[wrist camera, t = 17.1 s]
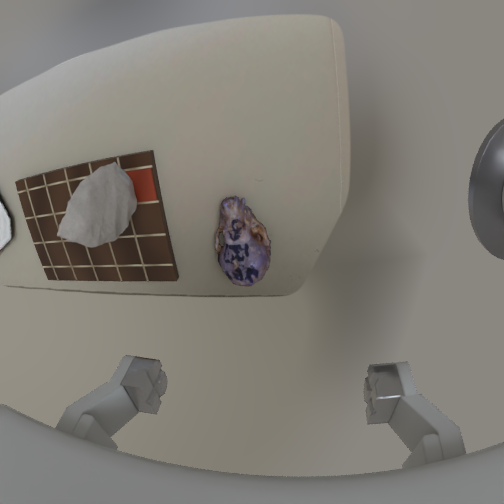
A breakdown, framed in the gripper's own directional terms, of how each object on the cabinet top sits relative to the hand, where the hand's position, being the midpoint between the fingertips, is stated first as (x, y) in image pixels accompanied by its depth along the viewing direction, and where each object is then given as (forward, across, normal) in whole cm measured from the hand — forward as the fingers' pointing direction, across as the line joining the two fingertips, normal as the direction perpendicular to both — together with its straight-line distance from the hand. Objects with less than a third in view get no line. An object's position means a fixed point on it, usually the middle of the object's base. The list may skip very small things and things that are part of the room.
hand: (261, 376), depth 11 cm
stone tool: (+30, +21, 0) cm, 37 cm away
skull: (+32, +6, +9) cm, 34 cm away
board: (+31, +31, +6) cm, 44 cm away
